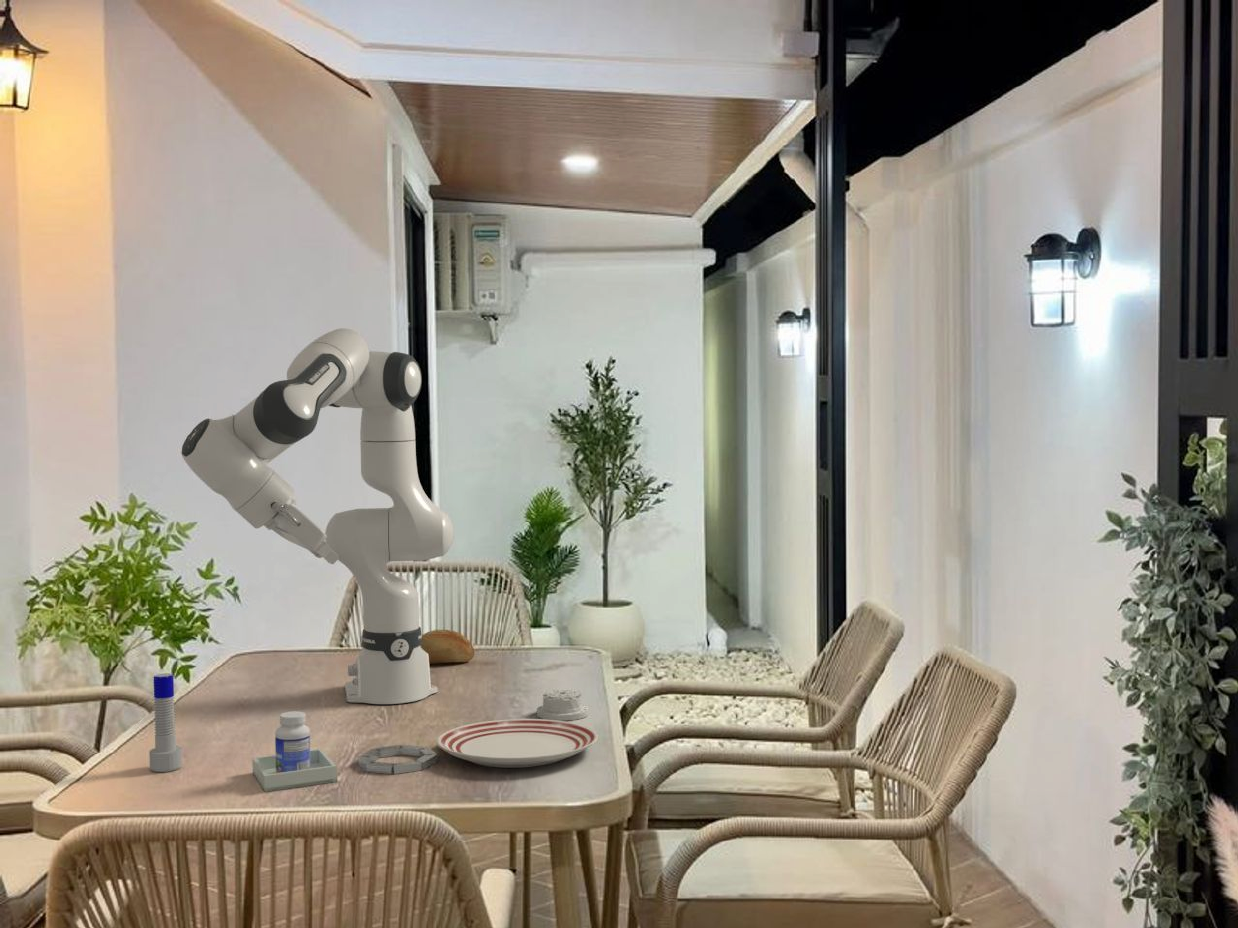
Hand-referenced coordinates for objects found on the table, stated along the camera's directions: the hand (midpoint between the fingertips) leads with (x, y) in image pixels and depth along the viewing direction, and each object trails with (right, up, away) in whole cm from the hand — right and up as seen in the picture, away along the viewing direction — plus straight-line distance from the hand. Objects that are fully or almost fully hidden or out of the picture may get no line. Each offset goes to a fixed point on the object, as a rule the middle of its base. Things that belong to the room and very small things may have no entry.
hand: (328, 557), depth 202 cm
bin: (-4, -35, -7) cm, 36 cm away
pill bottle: (-4, -34, -7) cm, 35 cm away
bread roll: (+7, -31, +80) cm, 86 cm away
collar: (+11, -34, 0) cm, 36 cm away
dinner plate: (+31, -34, +5) cm, 47 cm away
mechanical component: (+38, -33, +31) cm, 59 cm away
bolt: (-27, -35, -2) cm, 44 cm away
